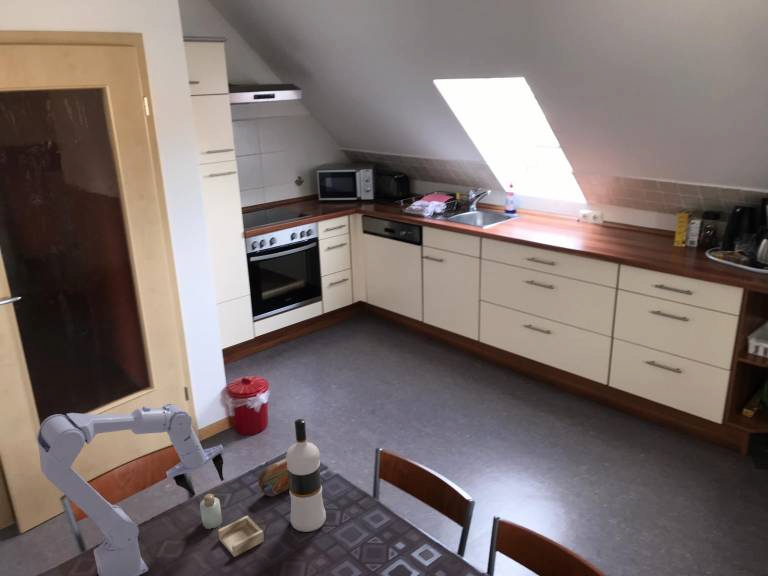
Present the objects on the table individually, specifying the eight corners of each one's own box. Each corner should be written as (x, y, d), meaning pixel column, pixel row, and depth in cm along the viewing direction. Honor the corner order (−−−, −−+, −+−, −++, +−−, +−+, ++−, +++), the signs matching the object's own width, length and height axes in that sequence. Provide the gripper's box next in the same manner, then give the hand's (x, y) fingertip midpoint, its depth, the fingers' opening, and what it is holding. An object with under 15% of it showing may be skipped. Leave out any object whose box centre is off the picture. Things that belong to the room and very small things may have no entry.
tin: (263, 501, 171) (260, 475, 168) (258, 496, 173) (255, 470, 170) (309, 479, 180) (307, 454, 177) (303, 474, 182) (301, 449, 179)
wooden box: (234, 557, 151) (233, 547, 150) (219, 539, 157) (218, 529, 156) (264, 541, 156) (263, 531, 155) (248, 524, 162) (247, 515, 161)
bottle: (207, 531, 160) (203, 505, 157) (199, 521, 163) (195, 496, 161) (225, 522, 163) (222, 497, 160) (217, 513, 166) (213, 488, 164)
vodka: (283, 522, 162) (273, 422, 152) (310, 505, 168) (302, 407, 159) (306, 539, 156) (297, 435, 146) (333, 520, 162) (326, 419, 153)
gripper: (212, 425, 158) (230, 463, 165) (157, 452, 154) (177, 490, 160) (218, 439, 152) (237, 478, 159) (161, 468, 148) (182, 507, 154)
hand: (207, 485), depth 159 cm, fingers open, 7 cm apart
